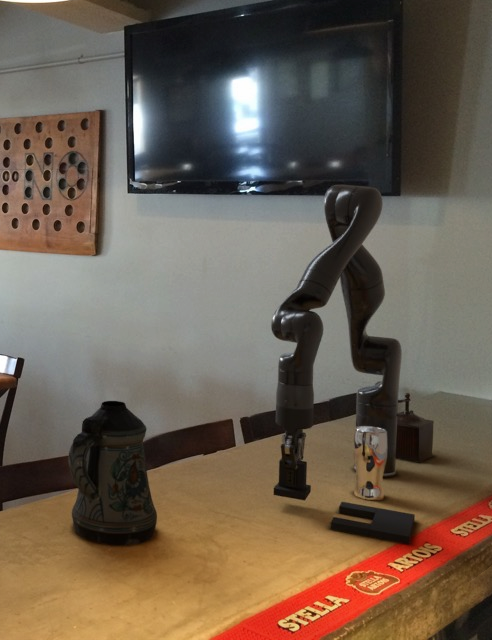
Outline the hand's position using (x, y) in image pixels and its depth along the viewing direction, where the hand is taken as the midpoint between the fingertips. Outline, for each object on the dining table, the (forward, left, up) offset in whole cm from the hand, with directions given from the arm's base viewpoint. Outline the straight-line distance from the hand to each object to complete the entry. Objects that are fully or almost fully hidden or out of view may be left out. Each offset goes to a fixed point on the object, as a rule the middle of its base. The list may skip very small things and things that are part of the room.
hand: (292, 483), depth 171 cm
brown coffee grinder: (-60, +15, -5) cm, 62 cm away
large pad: (+1, +16, -5) cm, 17 cm away
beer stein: (+33, -27, -5) cm, 43 cm away
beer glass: (-18, +13, -5) cm, 23 cm away
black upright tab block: (0, 0, -2) cm, 2 cm away
